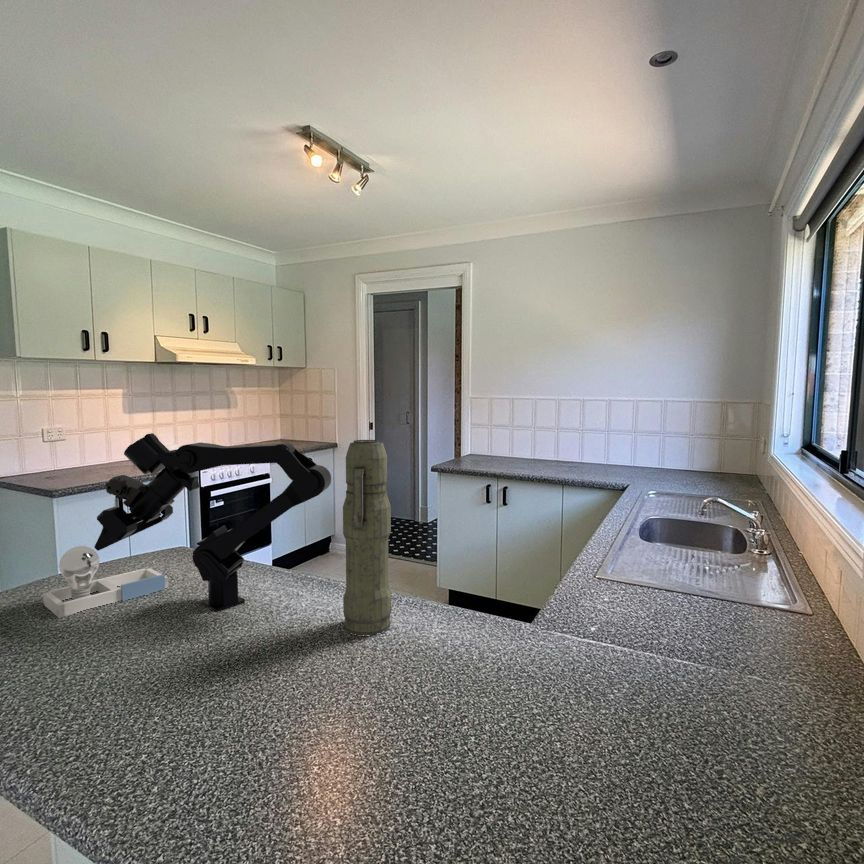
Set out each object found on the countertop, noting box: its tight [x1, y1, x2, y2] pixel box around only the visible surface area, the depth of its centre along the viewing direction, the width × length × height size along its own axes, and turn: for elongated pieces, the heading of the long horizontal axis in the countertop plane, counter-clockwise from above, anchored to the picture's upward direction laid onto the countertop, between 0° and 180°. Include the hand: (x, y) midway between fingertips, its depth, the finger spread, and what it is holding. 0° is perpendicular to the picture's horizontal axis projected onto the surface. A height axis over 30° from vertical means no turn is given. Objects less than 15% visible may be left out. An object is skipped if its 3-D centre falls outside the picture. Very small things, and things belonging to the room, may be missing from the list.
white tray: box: [42, 567, 169, 619], centre depth 111 cm, size 11×21×4 cm, turn 140°
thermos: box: [342, 439, 392, 636], centre depth 96 cm, size 9×12×35 cm
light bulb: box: [58, 545, 101, 600], centre depth 107 cm, size 7×7×12 cm
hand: (110, 542), depth 107 cm, fingers open, 9 cm apart
